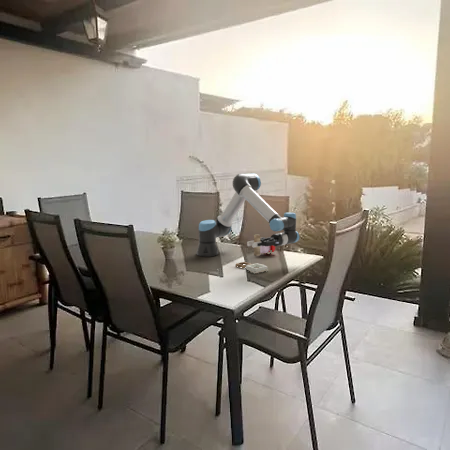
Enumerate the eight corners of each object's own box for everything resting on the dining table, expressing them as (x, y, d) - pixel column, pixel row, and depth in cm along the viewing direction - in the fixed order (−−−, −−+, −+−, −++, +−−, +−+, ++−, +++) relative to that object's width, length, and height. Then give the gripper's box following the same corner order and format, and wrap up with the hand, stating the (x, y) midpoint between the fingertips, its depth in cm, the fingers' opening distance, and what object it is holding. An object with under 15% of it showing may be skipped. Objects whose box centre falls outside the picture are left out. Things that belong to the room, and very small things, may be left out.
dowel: (252, 255, 229) (252, 234, 228) (257, 254, 232) (257, 234, 230) (256, 256, 227) (257, 235, 225) (261, 255, 229) (261, 235, 227)
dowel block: (235, 266, 240) (235, 263, 240) (244, 264, 245) (244, 261, 244) (243, 269, 235) (243, 265, 235) (251, 267, 239) (251, 263, 239)
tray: (245, 270, 232) (245, 265, 231) (257, 268, 237) (257, 263, 237) (256, 273, 225) (256, 268, 224) (267, 271, 230) (267, 266, 230)
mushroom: (265, 255, 262) (280, 253, 268) (262, 239, 263) (277, 237, 269) (257, 257, 271) (271, 255, 277) (254, 241, 273) (268, 239, 278)
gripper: (288, 247, 233) (260, 253, 219) (269, 243, 246) (240, 248, 232) (289, 235, 232) (260, 240, 218) (269, 231, 245) (240, 236, 231)
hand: (250, 244), depth 225 cm, fingers closed on dowel, 3 cm apart
